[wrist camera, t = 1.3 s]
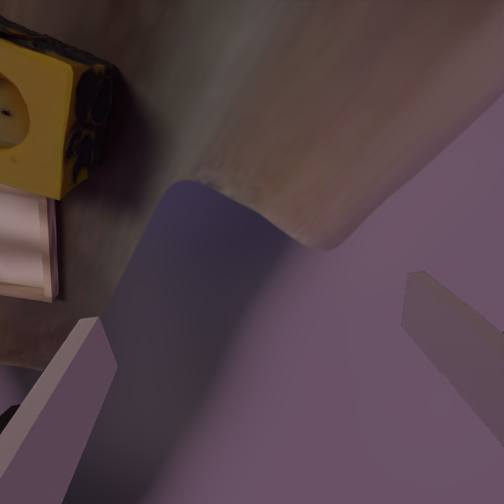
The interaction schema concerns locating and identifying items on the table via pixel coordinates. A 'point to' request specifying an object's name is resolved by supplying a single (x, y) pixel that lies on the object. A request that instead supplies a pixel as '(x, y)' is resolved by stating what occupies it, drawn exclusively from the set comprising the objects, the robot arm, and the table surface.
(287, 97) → the table surface
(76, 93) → the candle
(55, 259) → the slot frame
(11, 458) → the robot arm
